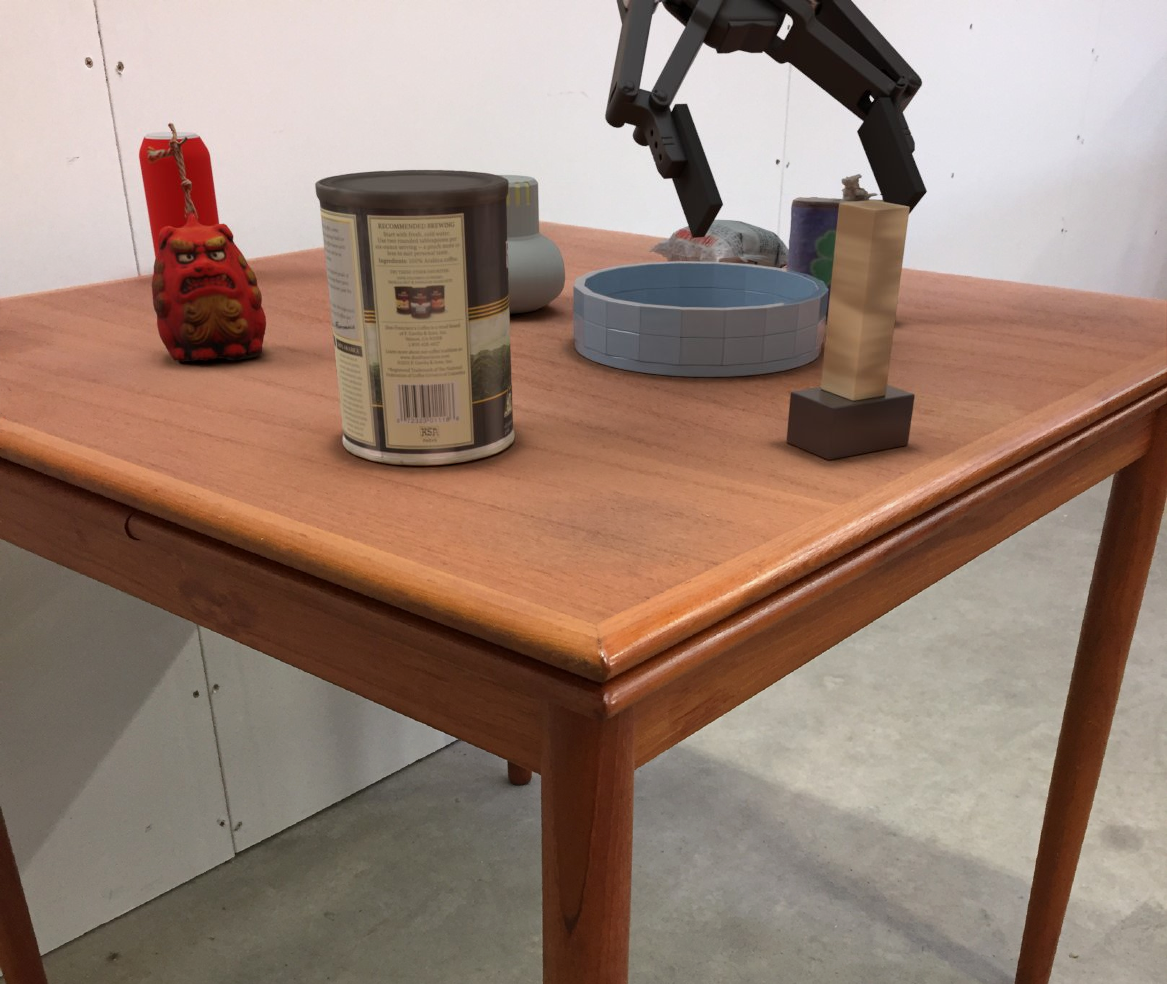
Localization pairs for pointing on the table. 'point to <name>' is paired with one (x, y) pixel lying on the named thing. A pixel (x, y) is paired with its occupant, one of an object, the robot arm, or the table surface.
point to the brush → (858, 342)
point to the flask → (819, 231)
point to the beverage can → (177, 183)
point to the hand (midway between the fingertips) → (812, 215)
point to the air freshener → (530, 250)
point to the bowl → (699, 318)
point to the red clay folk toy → (204, 286)
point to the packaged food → (726, 245)
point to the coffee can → (420, 313)
